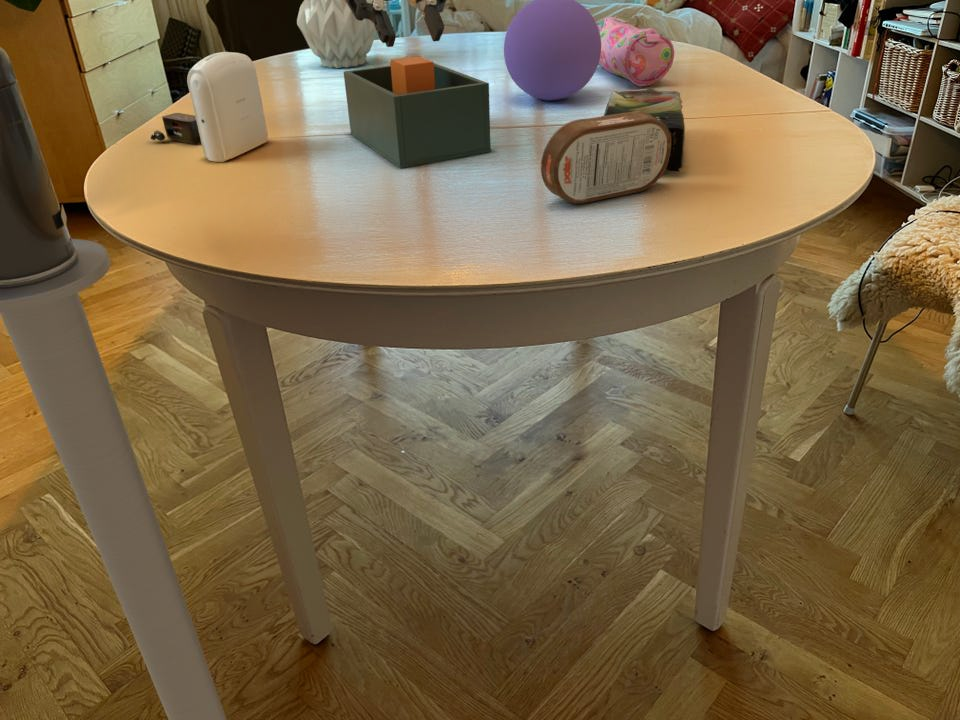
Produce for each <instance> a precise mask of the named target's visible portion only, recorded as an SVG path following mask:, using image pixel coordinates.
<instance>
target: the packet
mask: <svg viewBox="0 0 960 720" xmlns="http://www.w3.org/2000/svg"><path fill="white" fill-rule="evenodd" d="M389 62H390V65H391V76H392V87H393V93H394V94H396V95H401V94H408V93H415V92H421V91H428V90H435V78H434V63H435V62H434V61H433V60H430V59H427V58H424V57H422V56H419V55H415V56H408V57H407V56H406V57H401V58H400V57H398V58H391V59H389Z"/></svg>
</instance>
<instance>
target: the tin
mask: <svg viewBox="0 0 960 720" xmlns="http://www.w3.org/2000/svg"><path fill="white" fill-rule="evenodd" d="M671 154H672V134H670V132H669V130H668V128H667V127H666V126H665V125H664V124H663V123H662V122H661V121H659V120H658V119H656V118H654V117H652V116H651V115H649V114H647V113H645V112H641V111H634V112H628V113H621V114H614V115H608V116H604V115H601V116H595V117H593V116H592V117H588V118H587V117H585V118H580V119H575V120H572V121H569V122H566V124H564V125H562V126H561V127H560V128H559V129H557V130H556V131H555V132H554V133H553V134H552V135H551V137H550V138H549V140H548V141H547V143H546V145H545V147H544V149H543V152H542V156H541V159H540V173H541V174H540V175H541V179H542V182H543V183H544V185H545V187H546V188H547V190H548V191H549V192H550V193H552V194H553V195H554V196H557V197H558V198H560V199H562V200H563V201H565V202H568V203H571V204H577V205H579V204H586V203H591V202H597V201H601V200H606V199H611V198H616V197H617V198H618V197H621V196H626V195H627V196H628V195H631V194H637V193H640V192H643V191H646V190H647V189H649V188H651V187H652V186H653V185H654V184H655V183H657V182H658V181H659V180H660V178H661V177H662V176H663V174H664V173H665V171H666V167H667V164H668V161H669V157H670V155H671Z"/></svg>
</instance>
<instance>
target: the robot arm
mask: <svg viewBox="0 0 960 720" xmlns="http://www.w3.org/2000/svg"><path fill="white" fill-rule="evenodd" d="M345 1H346V3H347V4H348V6H349V8H350V9H351V11H352V13H353V15H354V16H355V18H356V19H357V20H359V21H362V20H364V19H369V20H370V21H371V22H372V23H374V25H375V28H376V33H377V36H378V38H379V40H380V42H381V43H382V44H385V46H386V47H387V48H392V47H394V46H395V42H396V33H395V30H394V26H393V25H392V21H391V19H390V17H389V14H388V11H387V10H384V2H389V1H391V0H371V3H367V1H366V0H345ZM405 1H406V2H407V3H408V4H409V5H410V7H412V8H416V9H417V10H418V11H419V12H420V13H421V14H422V15H423V17H424V18H423V19H424V22H425V24H426V28H427V30H428V32H429V35H430V39H431V40H432V41H433V42H440V41H441V37H442V35H443V33H444V30H445V24H444V21H443V18H442V16H441V13H442V12H443V11H444V8H445V6H446V3H447V0H405ZM72 239H73V238H72V236H71V235H70V233H69V229H68V226H67V214H66V211H65V208H64V205H63V204H61V205H60V202H59V199H58V197H57V194H56V190H55V188H54V185H53V181H52V179H51V176H50V173H49V170H48V167H47V164H46V161H45V158H44V155H43V153H42V149H41V146H40V143H39V140H38V137H37V134H36V132H35V129H34V126H33V123H32V120H31V116H30V114H29V111H28V108H27V104H26V102H25V100H24V96H23V94H22V90H21V87H20V85H19V81H18V79H17V75H16V73H15V70H14V67H13V64H12V61H11V58H10V57H9V55H8V53H7V51H6V50H5V49H4V48H2V47H1V46H0V289H1V288H13V287H21V286H26V285H31V284H34V283H38V282H42V281H45V280H48V279H50V278H53V277H55V276H58V275H60V274H62V273H64V272H66V271H67V270H69V269H70V268H72V267H73V266H74V265H75V264H76V263H77V261H78V255H77V252H76V249H75V247H74V246H73V242H72Z"/></svg>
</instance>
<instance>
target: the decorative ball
mask: <svg viewBox="0 0 960 720" xmlns="http://www.w3.org/2000/svg"><path fill="white" fill-rule="evenodd" d="M509 23H510V24H509V26H508V27H507V30H506V33H505V38H504V42H503V57H504V63H505V67H506V69H507V72H508V74H509V76H510V78H511V79H512V81H513V82H514V84H515V85H516V86H517V87H518V88H519V89H520V90H521V91H523V92H524V93H525V94H526V95H529V96H531V97H532V98H535V99H539V100H542V101H559V100H564V99H567V98H569V97H571V96H574V95H575V94H577V93H578V92H580V91H581V90H582V89H583V88H584V87H586V86H587V85H588V84H589V82H590V81H591V79H592V78H593V76H594V75H595V73H596V71H597V69H598V66H599V65H598V64H599V60H600V55H601V37H600V32H599V29H598V26H597V25H598V23H597V21H596V20H595V18H594V17H593V15H592V14H591V12H590V11H589V10H588V9H587V8H586V7H585V6H584V5H583V4H582V3H580V2H578V1H577V0H532V1H530V2H528V3H526V4H525V5H524V6H523V7H522V8H520V9H519V10H518V12H517V13H516V14H515V15H514V17H513V18H512V19H511V22H509Z"/></svg>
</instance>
